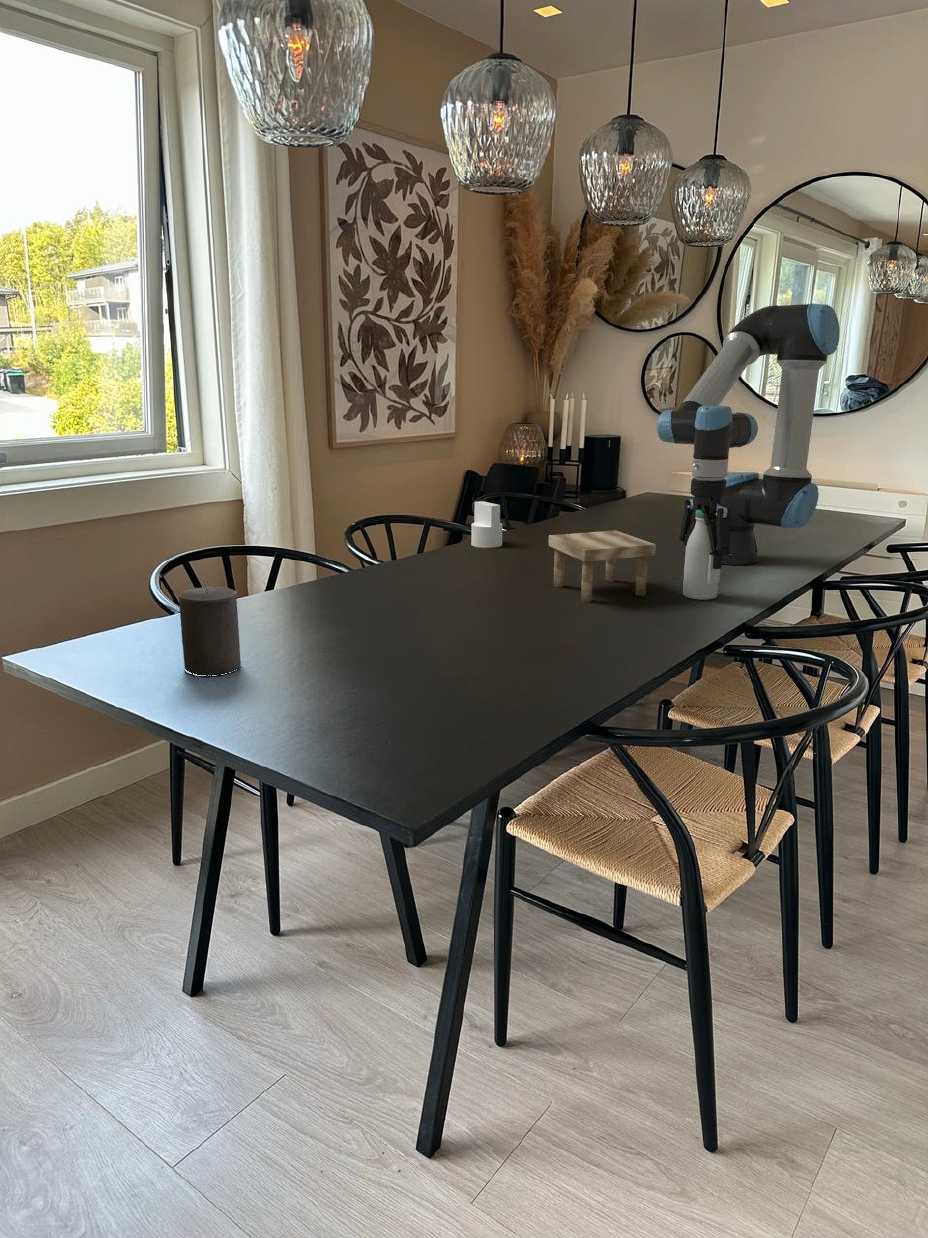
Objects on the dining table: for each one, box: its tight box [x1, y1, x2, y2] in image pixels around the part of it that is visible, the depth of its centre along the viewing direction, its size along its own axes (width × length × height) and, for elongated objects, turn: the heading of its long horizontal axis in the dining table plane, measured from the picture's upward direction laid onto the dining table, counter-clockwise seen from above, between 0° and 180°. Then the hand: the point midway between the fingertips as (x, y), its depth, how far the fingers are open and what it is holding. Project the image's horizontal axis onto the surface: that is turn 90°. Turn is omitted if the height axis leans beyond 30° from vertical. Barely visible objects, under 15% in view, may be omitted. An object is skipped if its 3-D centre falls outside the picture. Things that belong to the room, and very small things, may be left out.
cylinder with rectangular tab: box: [470, 500, 503, 549], centre depth 257 cm, size 9×9×12 cm
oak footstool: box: [548, 530, 657, 603], centre depth 207 cm, size 18×18×12 cm
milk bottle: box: [682, 509, 720, 601], centre depth 200 cm, size 8×8×20 cm
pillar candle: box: [178, 585, 242, 676], centre depth 155 cm, size 10×10×15 cm
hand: (701, 577), depth 202 cm, fingers open, 8 cm apart
